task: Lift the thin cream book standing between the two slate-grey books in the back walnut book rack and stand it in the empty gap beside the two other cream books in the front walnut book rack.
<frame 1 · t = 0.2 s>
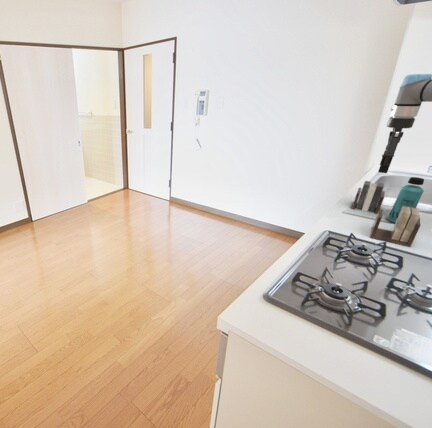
hand: (383, 168, 120), 20 cm above the counter, tool pointing down, fingers open, 13 cm apart
beverage bottle: (396, 224, 115), on the counter
cream book: (364, 208, 128), point 1 cm above the counter, touching grey rack
grey rack: (364, 210, 128), on the counter
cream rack: (389, 237, 106), on the counter
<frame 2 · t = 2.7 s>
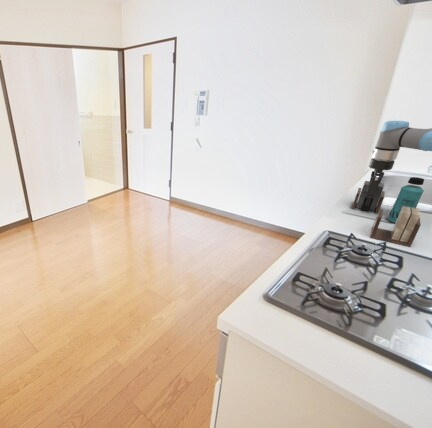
hand: (365, 208, 127), 1 cm above the counter, tool pointing down, fingers closed on cream book, grey rack, 8 cm apart
cream book: (364, 208, 128), point 1 cm above the counter, touching gripper
everything else where it was.
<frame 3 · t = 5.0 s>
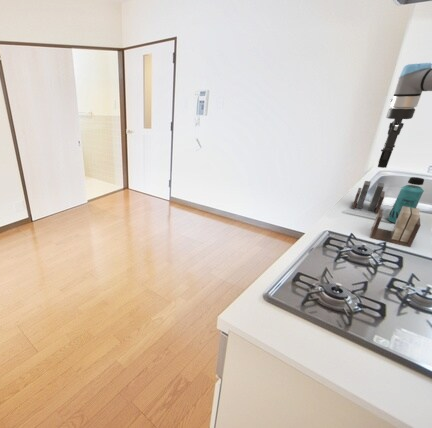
hand: (382, 164, 118), 22 cm above the counter, tool pointing down, fingers closed on cream book, 8 cm apart
cream book: (381, 165, 119), point 21 cm above the counter, touching gripper
everything else where it was.
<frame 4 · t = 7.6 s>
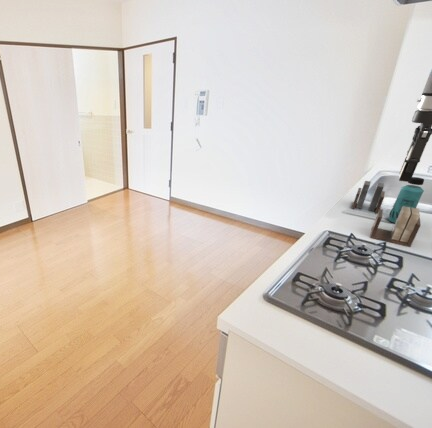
hand: (404, 177, 99), 23 cm above the counter, tool pointing down, fingers closed on cream book, 8 cm apart
cream book: (402, 178, 99), point 23 cm above the counter, touching gripper
everything else where it was.
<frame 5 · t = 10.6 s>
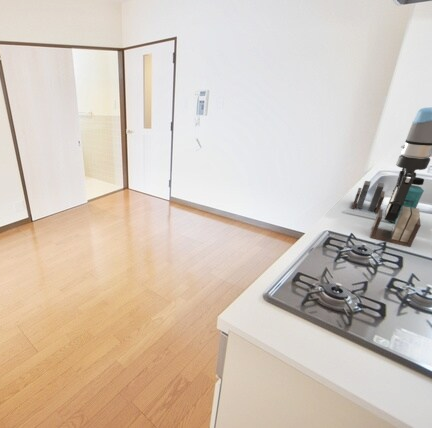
hand: (389, 216, 104), 8 cm above the counter, tool pointing down, fingers closed on cream book, 8 cm apart
cream book: (388, 216, 104), point 8 cm above the counter, touching gripper
everything else where it was.
when the fingers open (1 cm above the counter, at t = 12.7 s): cream book stays where it is, resting on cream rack.
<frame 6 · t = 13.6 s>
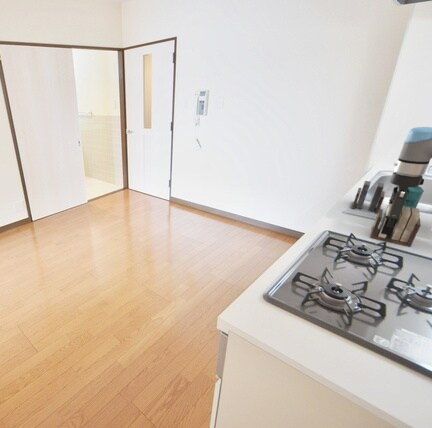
hand: (386, 227, 106), 4 cm above the counter, tool pointing down, fingers open, 13 cm apart
cream book: (381, 233, 107), point 1 cm above the counter, touching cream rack
everything else where it was.
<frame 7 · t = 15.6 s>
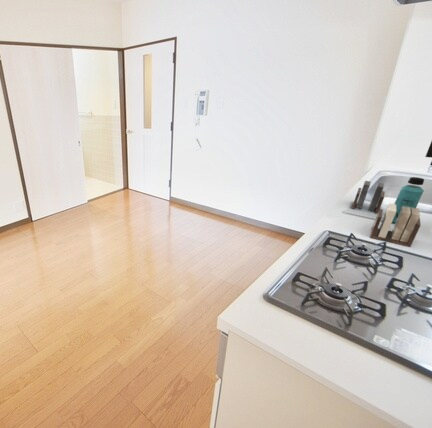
nothing on the counter moved.
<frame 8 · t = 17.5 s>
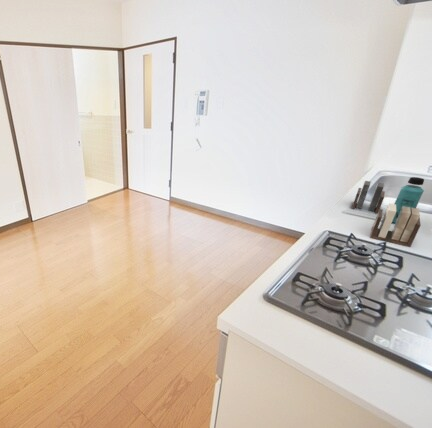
nothing on the counter moved.
at the end: cream book 0.1 cm from the target spot on the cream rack, point 1.0 cm above the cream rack's base; cream book tilted 0°; the gripper is holding nothing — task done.
